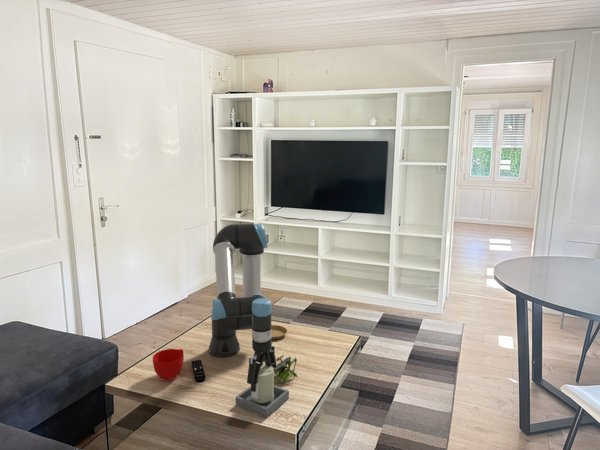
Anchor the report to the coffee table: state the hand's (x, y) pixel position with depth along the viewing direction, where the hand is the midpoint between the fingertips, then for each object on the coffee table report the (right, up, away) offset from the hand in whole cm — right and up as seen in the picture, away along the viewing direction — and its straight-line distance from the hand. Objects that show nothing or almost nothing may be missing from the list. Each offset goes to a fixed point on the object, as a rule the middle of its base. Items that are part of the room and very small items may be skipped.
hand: (262, 392), depth 171 cm
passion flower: (+9, -1, +19) cm, 21 cm away
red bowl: (-42, -1, +21) cm, 47 cm away
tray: (0, -4, +1) cm, 4 cm away
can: (0, -2, 0) cm, 2 cm away
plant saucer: (+1, +6, +62) cm, 62 cm away
